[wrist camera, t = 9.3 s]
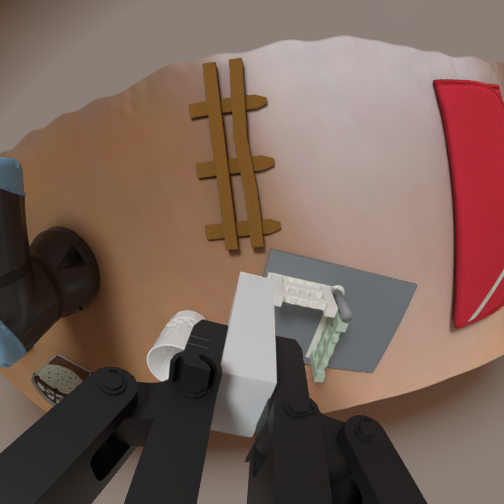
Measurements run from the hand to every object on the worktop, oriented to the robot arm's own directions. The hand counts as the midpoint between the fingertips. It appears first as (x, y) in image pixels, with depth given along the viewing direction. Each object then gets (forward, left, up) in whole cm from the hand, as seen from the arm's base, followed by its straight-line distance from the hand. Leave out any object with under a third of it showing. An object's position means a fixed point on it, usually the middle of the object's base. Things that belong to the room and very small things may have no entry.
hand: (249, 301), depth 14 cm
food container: (-31, -44, -27) cm, 60 cm away
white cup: (-6, -22, -27) cm, 35 cm away
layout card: (+15, -15, -26) cm, 34 cm away
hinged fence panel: (+14, -15, -25) cm, 33 cm away
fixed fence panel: (+8, -10, -26) cm, 29 cm away
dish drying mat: (+36, +10, -27) cm, 46 cm away
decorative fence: (-5, +6, -27) cm, 28 cm away
